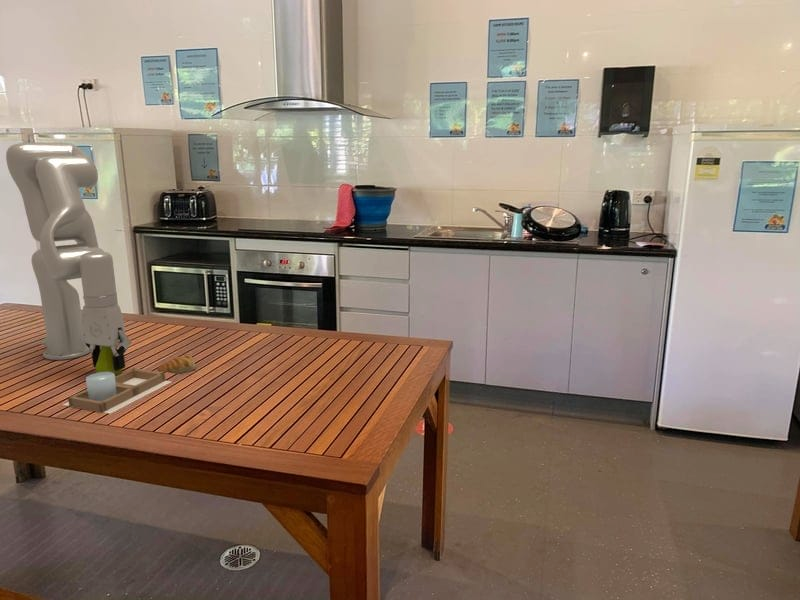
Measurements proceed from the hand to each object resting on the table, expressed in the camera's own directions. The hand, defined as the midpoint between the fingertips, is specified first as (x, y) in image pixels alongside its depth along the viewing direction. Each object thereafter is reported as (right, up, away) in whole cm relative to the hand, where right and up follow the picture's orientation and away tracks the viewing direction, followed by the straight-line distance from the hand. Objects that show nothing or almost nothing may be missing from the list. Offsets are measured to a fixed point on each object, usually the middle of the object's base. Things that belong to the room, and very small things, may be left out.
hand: (109, 366), depth 155 cm
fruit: (0, -3, +1) cm, 3 cm away
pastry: (+16, -2, +7) cm, 17 cm away
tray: (+8, -6, -11) cm, 15 cm away
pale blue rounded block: (+7, -6, -16) cm, 19 cm away
